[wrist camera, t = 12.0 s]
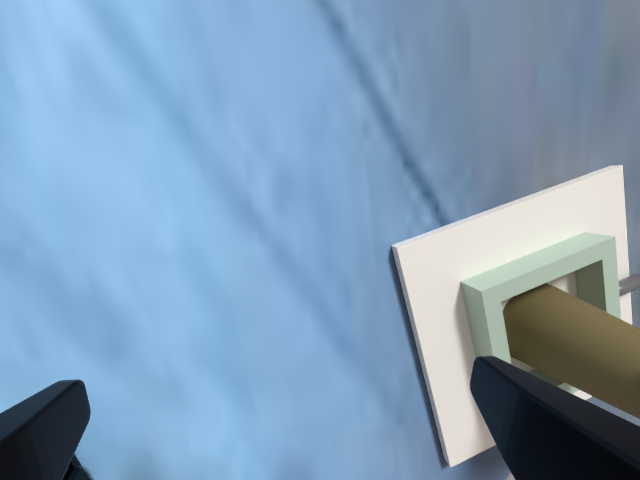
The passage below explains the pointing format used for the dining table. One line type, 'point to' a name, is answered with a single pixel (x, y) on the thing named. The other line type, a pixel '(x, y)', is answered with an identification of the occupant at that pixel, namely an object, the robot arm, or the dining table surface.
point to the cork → (576, 344)
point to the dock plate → (508, 287)
